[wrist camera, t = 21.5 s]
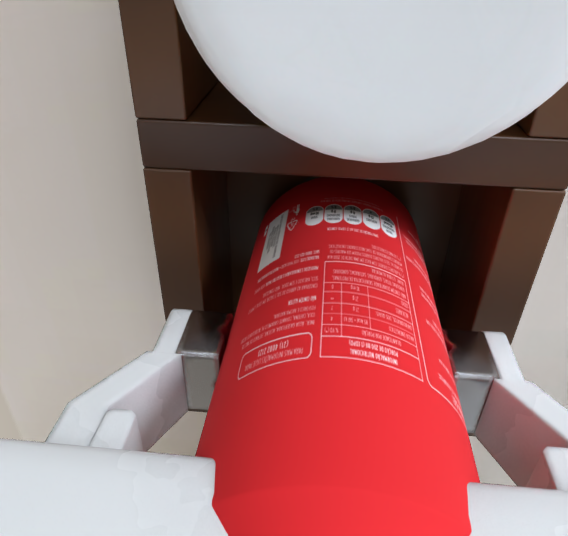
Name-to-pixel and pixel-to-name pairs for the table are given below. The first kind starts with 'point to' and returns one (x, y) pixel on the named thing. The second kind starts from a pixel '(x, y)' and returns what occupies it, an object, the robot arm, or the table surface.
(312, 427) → the beverage can
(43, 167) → the table surface
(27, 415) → the table surface
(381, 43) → the supplement bottle
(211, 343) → the robot arm
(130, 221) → the table surface
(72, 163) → the table surface
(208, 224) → the divided wooden box
